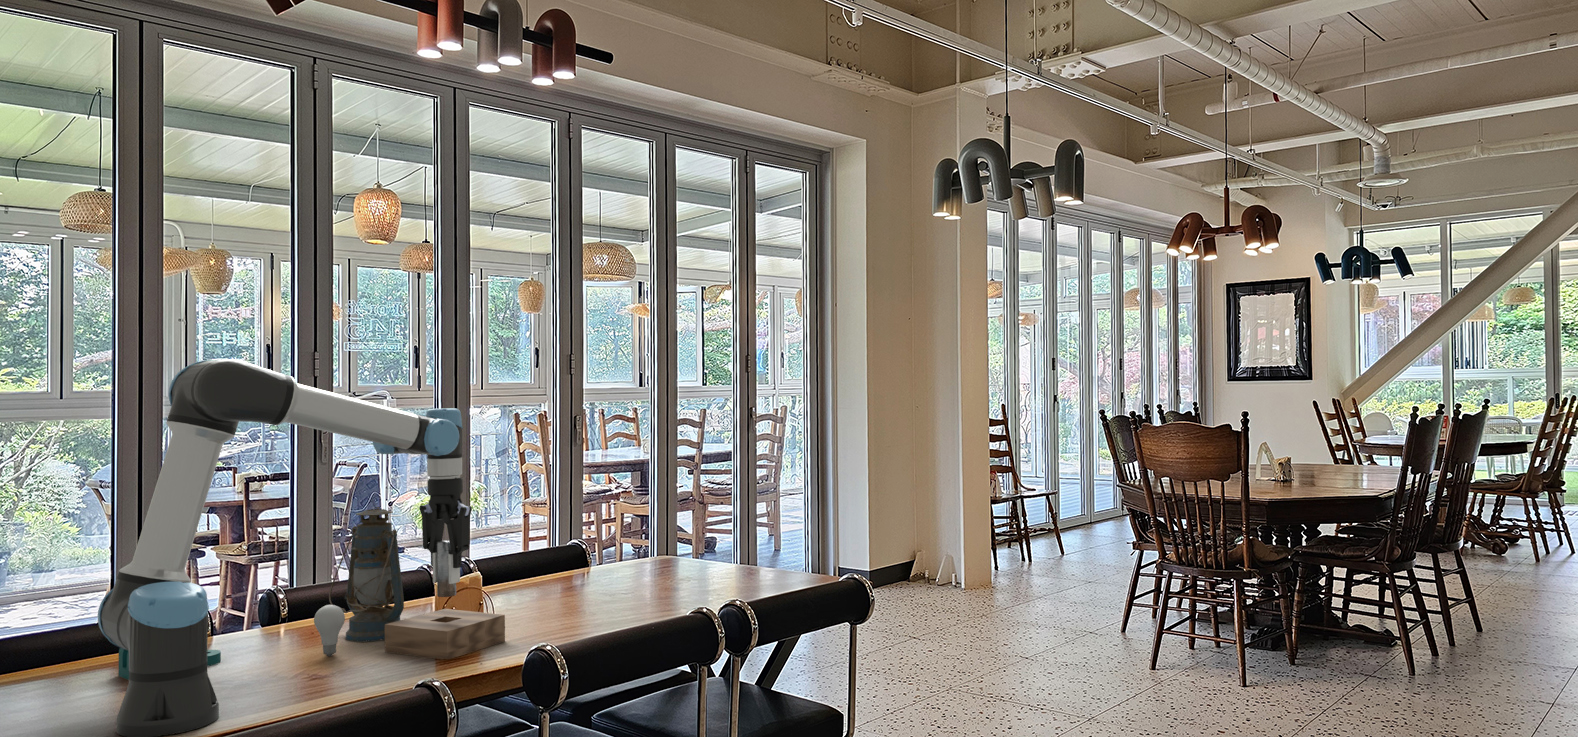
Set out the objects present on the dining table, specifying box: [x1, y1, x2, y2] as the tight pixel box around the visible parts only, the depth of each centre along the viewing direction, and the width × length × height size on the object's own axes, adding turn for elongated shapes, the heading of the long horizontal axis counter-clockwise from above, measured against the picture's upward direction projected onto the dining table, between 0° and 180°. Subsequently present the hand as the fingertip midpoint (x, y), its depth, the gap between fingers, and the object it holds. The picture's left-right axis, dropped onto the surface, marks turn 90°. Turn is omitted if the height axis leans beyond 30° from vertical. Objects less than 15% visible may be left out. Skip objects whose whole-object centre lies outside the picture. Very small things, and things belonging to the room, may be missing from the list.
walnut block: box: [384, 608, 506, 660], centre depth 232 cm, size 18×18×6 cm
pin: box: [436, 539, 457, 598], centre depth 232 cm, size 4×4×12 cm
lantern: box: [328, 506, 405, 643], centre depth 244 cm, size 19×14×30 cm
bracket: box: [118, 647, 222, 681], centre depth 216 cm, size 18×7×8 cm, turn 141°
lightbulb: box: [313, 604, 346, 657], centre depth 225 cm, size 6×6×11 cm
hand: (446, 581), depth 232 cm, fingers closed on pin, 4 cm apart
